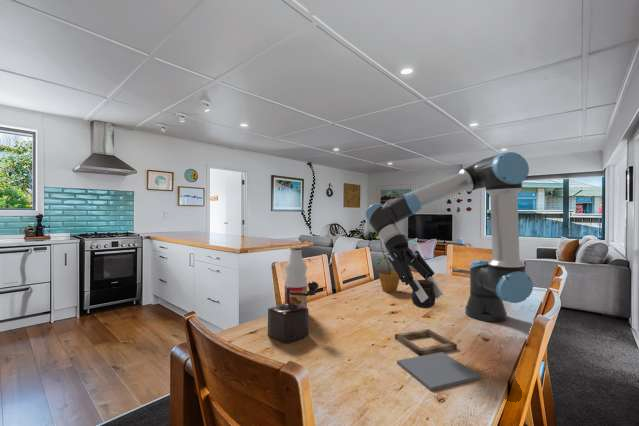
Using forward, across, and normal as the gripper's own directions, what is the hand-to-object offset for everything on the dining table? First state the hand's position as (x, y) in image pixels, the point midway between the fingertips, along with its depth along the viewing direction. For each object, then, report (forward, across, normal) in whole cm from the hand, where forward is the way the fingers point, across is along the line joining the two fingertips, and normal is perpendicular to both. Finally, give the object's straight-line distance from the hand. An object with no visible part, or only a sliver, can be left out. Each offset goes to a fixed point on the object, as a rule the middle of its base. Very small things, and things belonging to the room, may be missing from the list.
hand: (432, 298), depth 93 cm
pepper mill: (-13, +29, -37) cm, 49 cm away
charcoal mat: (+17, +8, -6) cm, 20 cm away
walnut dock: (+8, -3, -15) cm, 18 cm away
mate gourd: (0, 0, -5) cm, 5 cm away
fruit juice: (-25, +18, -50) cm, 59 cm away
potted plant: (-29, -43, -53) cm, 74 cm away
